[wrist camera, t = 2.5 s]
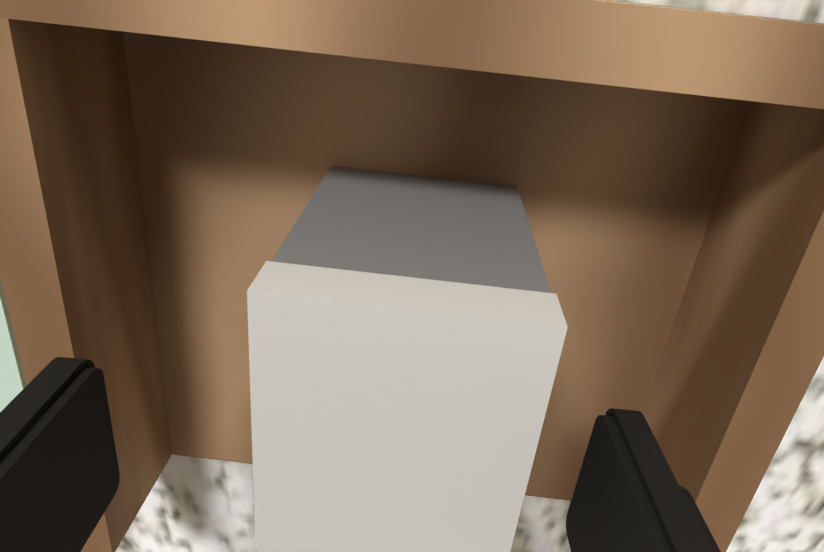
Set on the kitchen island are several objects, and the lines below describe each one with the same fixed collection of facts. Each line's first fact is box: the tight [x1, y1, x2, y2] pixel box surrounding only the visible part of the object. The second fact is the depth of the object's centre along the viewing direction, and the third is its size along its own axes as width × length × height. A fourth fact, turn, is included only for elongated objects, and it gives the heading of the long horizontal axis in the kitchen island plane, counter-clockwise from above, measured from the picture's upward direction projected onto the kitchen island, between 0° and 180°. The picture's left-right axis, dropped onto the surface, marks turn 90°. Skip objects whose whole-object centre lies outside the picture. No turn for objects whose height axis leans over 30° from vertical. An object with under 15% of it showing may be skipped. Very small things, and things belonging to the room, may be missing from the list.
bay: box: [0, 0, 824, 552], centre depth 14 cm, size 16×14×4 cm
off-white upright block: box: [247, 166, 568, 552], centre depth 13 cm, size 5×7×6 cm, turn 174°
